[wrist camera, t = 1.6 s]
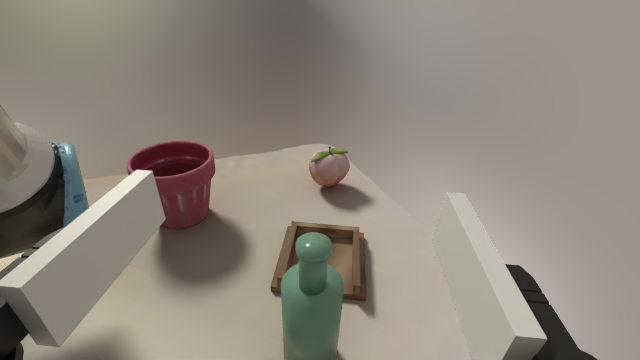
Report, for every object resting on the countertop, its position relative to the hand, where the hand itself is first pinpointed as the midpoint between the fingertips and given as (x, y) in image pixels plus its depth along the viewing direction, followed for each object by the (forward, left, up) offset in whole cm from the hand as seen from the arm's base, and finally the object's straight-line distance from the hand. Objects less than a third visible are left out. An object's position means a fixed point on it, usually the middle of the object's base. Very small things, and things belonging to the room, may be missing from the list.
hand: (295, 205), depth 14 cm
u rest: (0, +26, -30) cm, 40 cm away
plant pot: (-28, +35, -30) cm, 54 cm away
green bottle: (0, +10, -30) cm, 32 cm away
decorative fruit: (-1, +50, -30) cm, 59 cm away
